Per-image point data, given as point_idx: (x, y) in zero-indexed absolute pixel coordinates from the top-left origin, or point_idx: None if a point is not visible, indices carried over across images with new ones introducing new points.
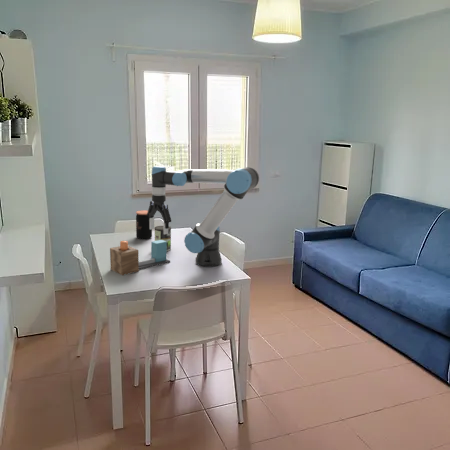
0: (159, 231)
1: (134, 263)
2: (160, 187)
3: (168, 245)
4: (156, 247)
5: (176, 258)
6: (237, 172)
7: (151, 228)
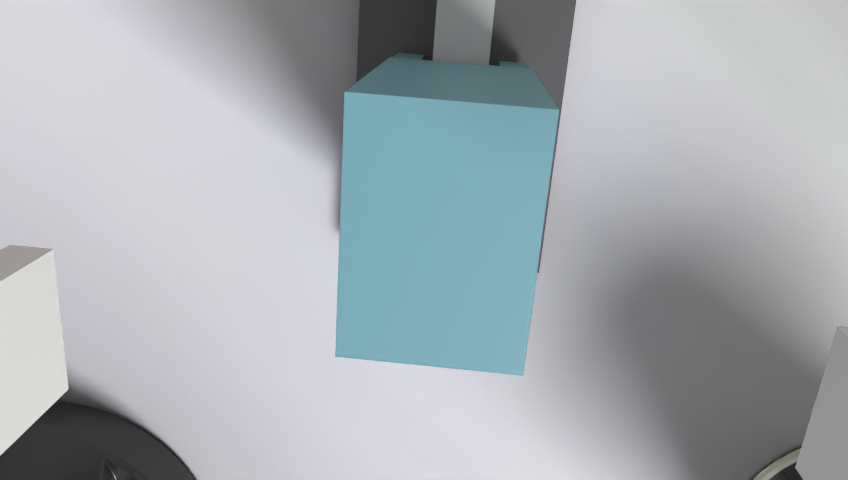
0: None
1: None
2: None
3: None
4: (359, 82)
5: (424, 398)
6: None
7: (839, 386)
